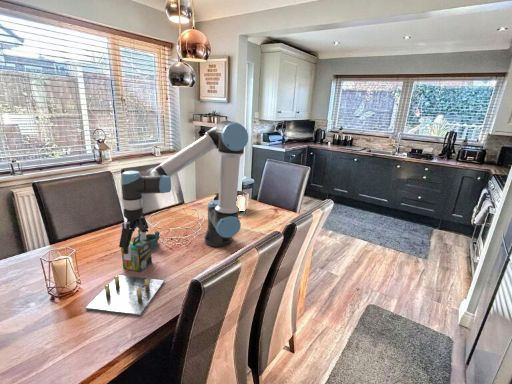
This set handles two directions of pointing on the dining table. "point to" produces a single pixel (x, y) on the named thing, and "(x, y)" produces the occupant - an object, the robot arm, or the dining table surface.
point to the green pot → (152, 239)
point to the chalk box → (138, 254)
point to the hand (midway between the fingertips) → (136, 252)
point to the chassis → (126, 295)
